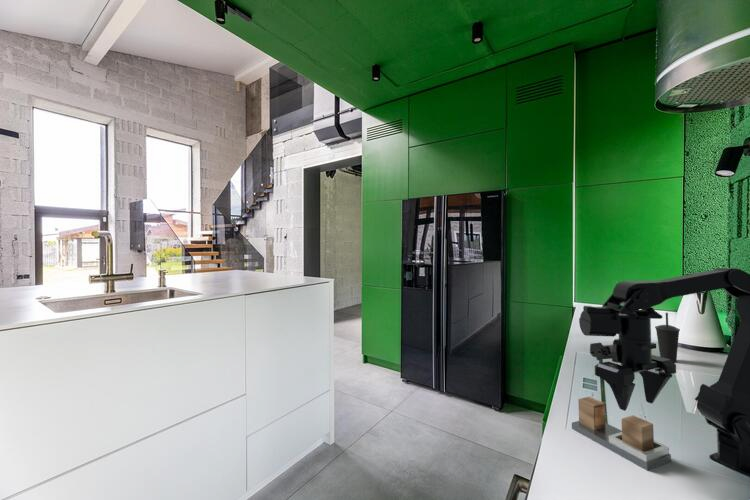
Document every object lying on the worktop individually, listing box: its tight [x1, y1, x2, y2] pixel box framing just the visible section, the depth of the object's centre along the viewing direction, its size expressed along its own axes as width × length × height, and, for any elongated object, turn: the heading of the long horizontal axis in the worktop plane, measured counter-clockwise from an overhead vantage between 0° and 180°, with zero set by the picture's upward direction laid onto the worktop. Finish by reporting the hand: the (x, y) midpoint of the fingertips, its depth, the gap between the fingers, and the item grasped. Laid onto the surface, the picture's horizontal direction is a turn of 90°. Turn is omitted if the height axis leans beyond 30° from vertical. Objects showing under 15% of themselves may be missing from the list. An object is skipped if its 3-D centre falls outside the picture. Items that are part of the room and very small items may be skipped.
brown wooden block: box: [578, 396, 606, 430], centre depth 80 cm, size 4×4×6 cm
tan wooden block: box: [621, 415, 655, 452], centre depth 71 cm, size 4×4×6 cm
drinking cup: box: [654, 312, 681, 363], centre depth 131 cm, size 8×8×20 cm
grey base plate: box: [571, 420, 672, 471], centre depth 75 cm, size 8×17×3 cm, turn 20°
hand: (636, 406), depth 71 cm, fingers open, 9 cm apart
